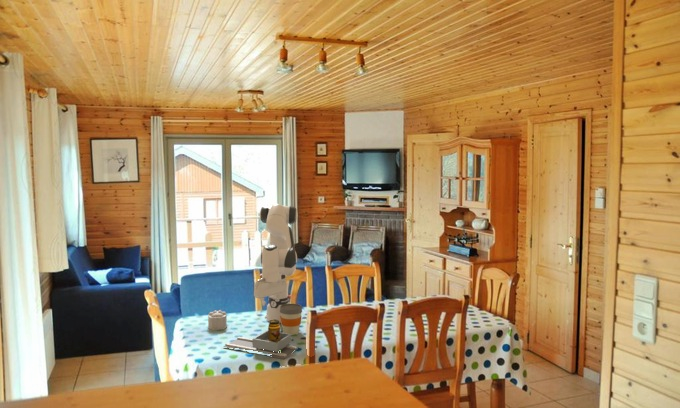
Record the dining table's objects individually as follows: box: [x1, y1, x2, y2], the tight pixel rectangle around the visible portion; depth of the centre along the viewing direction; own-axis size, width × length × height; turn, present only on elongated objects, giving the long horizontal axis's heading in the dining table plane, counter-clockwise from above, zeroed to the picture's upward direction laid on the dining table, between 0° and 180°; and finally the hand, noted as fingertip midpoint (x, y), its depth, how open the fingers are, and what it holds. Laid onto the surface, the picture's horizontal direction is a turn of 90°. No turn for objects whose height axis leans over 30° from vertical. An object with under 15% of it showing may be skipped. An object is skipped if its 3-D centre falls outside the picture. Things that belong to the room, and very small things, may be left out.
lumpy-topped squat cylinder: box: [207, 309, 228, 331], centre depth 329 cm, size 10×13×9 cm
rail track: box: [223, 336, 299, 360], centre depth 295 cm, size 16×36×2 cm, turn 66°
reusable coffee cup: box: [280, 303, 303, 336], centre depth 320 cm, size 13×13×15 cm
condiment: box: [267, 320, 281, 342], centre depth 291 cm, size 7×8×12 cm
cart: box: [252, 330, 292, 353], centre depth 292 cm, size 15×15×6 cm
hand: (270, 303), depth 290 cm, fingers open, 8 cm apart
